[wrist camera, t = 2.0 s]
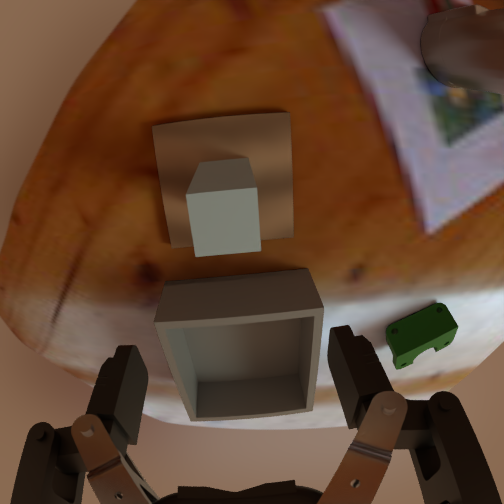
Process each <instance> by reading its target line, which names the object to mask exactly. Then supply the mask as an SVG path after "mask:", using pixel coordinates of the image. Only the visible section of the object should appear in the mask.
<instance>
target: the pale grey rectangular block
mask: <svg viewBox="0 0 504 504" xmlns="http://www.w3.org/2000/svg"><path fill="white" fill-rule="evenodd" d="M186 199H187V206H188V213H189V219H190V226H191V232H192V238H193V244H194V250H195V256H196V257H201V256H212V255H223V254H234V253H244V252H255V251H261V242H260V226H259V210H258V195H257V186H256V182H255V179H254V175H253V172H252V169H251V165H250V162H249V158H239V159H228V160H218V161H208V162H200V163H199V165H198V167H197V170H196V172H195V174H194V177H193V179H192V181H191V183H190V186H189V188H188V190H187V193H186Z"/></svg>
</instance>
